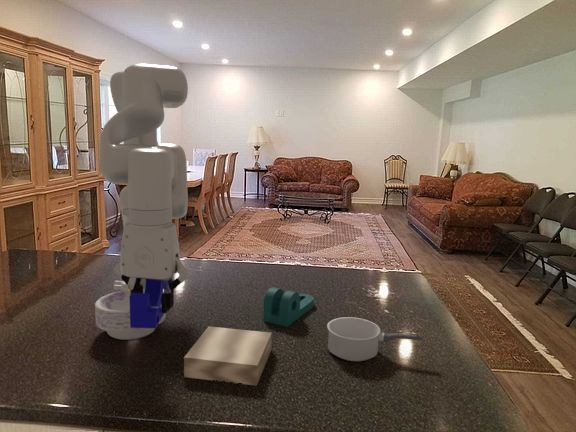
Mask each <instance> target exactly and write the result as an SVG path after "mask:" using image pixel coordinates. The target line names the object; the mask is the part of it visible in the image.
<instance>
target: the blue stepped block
mask: <svg viewBox="0 0 576 432" xmlns="http://www.w3.org/2000/svg"><path fill="white" fill-rule="evenodd" d="M162 293H163V286H162V283H161V280H151V279H146V285H145V292H144V293H132V294H131V295H130V296H129V297H130V328H156V329H157V327H158V325H159V322H160V320H161V318H162V316H163V315H164V313H162V307H161V304H162V300H161V295H162Z"/></svg>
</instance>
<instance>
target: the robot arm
mask: <svg viewBox="0 0 576 432" xmlns="http://www.w3.org/2000/svg"><path fill="white" fill-rule="evenodd" d="M109 84H110V85H109V88H110V94H111V98H112V102H113V105H114V107H115V109H116V113H115V114H114V115H112V117H110V119H108V121H107V122H106V123H105V125H104V126H103V128H102V130H101V133H100V137H99V157H98V158H99V169H100V174H101V175H102V178H104V180H105V181H107V182H109V183H111V184H127V185H126V186H124V187H123V188H122V189H121V191H120V193H119V199H118V200H119V201H118V202H119V207H120V211H121V218H122V224H123V231H122V235H121V236H122V237H121V243H120V244H121V245H120V258H119V259H120V260H119V261H118V262H117V263H116V265H115V266H114V267H113V272H114V273H115V274H117V276H119V277H120V278H121V280H117V279H116V280H114V282H113V287H112V288H113V290H114V291H115V290H116V291H118V290H119V291H123V290H130V292H131V294H132V293H143V289H145V285H146V279H151V280H161V283H162V286H163V293H162V295H161V300H162V313H166V314H167V313H168V312H169V311H170V310H171V309H172V308H173V307H174V301H175V300H174V299H175V298H174V297H175V296H174V295H175V294H174V291H175V289H176V288H177V287H179V285H181V284H183V283H184V282H185V281H186V280H187V279H189V278H191V272H190V271H189V270H188V269H187V267H186V265H184V263H182V261H181V253H180V243H179V237H178V232H177V231H178V230H177V227H176V224H175V223H174V222H173V220H174V219H175V220H176V219H181V218H184V217H185V216H186V215H187V213H188V207H189V196H188V167H187V164H188V163H187V157H186V153H185V149H183V147H182V146H181V145H179V144H178V143H176V144H175V143H163V142H162V143H160V142H158V136H157V135H158V133H157V132H158V130H157V129H158V128H160V127H161V126H162V124H163V123H164V121H165V111H164V108H165V109H166V108H167V109H176V108H179V107H182V106H183V105H184V104H185V102H186V101H187V98H188V94H189V93H188V92H189V86H188V80H187V77H186V74H185V73H184V71H183V70H182V69H181V68H179V67H176V66H172V65H171V66H170V65H160V64H150V63H149V64H148V63H135V64H131V65H129V66H127V67H126V68H125V69H124V70H122V71H118V72H115V73H113V74H112V76H111V77H110V80H109ZM174 274H178V276H177V277H176V278H175V277H174V276H175V275H174Z"/></svg>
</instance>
